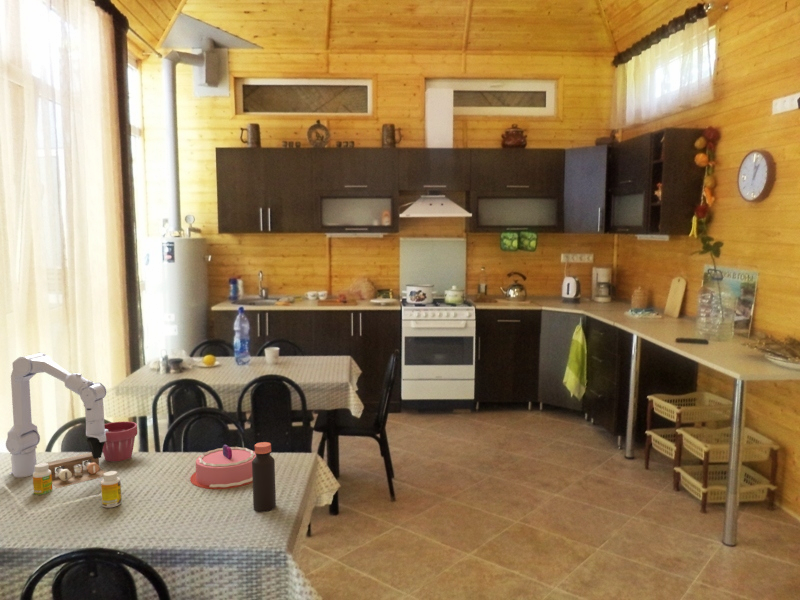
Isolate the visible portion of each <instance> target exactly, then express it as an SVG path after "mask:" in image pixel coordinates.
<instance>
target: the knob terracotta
mask: <svg viewBox="0 0 800 600" xmlns="http://www.w3.org/2000/svg"><path fill="white" fill-rule="evenodd" d="M83 466H86V467H87V471H88V472H89V473H90V474H96V473H97V472H98V471H99V467H100V464H99V465H98V464H96V463H90V462H89V461H88V460H86V461H83Z"/></svg>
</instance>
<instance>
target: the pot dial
mask: <svg viewBox="0 0 800 600" xmlns="http://www.w3.org/2000/svg"><path fill="white" fill-rule="evenodd" d="M82 476H83V473H82V465H81V464H78V465H74V478H81V477H82Z"/></svg>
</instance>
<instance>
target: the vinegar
mask: <svg viewBox="0 0 800 600" xmlns="http://www.w3.org/2000/svg"><path fill="white" fill-rule="evenodd" d="M254 452H255V454H256V457H255V458H254V459H253V461H252V479H253V482H252V500H253V501H252V502H253V504H252V505H253V506H252V507H253V510H254V511H256V512H259V513H265V512H270V511H273V510H274V509H275V508H276V506H277V499H276V492H277V491H276V466H275V465H276V464H275V463H276V462H275V458H274V457H273V456H272V455H271V453H272V443H271V442H267V441H263V442H262V441H261V442H257V443H256V444H254Z"/></svg>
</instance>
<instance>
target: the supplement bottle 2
mask: <svg viewBox="0 0 800 600" xmlns="http://www.w3.org/2000/svg"><path fill="white" fill-rule="evenodd" d="M105 472H106V473H104V474H103V477H102V480H101V481H100V491H101V504H102V505H101V506H103V507H104V508H106V509H107V508H109V509H111V508H115V507H118V506H120V505H121V503H122V487H121V478H120V476H118V471H116V470H110V471H105Z"/></svg>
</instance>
